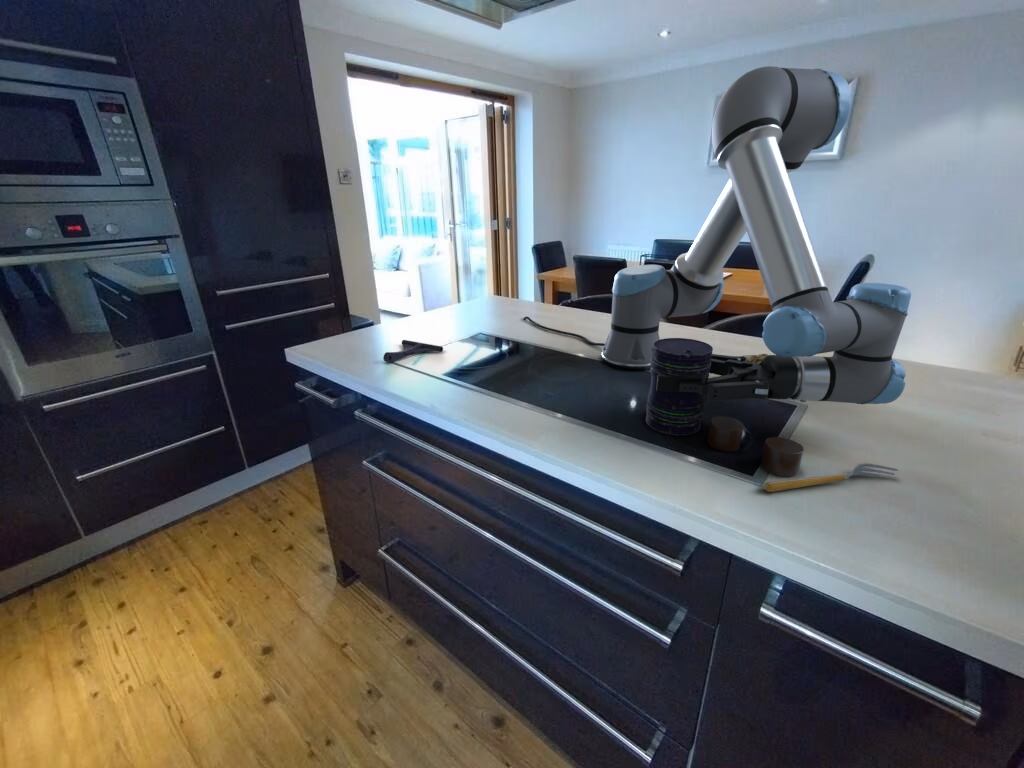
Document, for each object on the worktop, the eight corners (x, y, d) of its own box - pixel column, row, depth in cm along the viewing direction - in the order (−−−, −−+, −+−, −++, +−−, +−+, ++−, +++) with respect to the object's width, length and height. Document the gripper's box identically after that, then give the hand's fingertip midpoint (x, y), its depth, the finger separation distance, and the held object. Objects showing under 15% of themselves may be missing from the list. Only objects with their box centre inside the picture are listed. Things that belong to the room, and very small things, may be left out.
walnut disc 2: (754, 466, 68) (759, 443, 67) (770, 455, 71) (775, 433, 69) (788, 481, 64) (794, 457, 63) (803, 469, 67) (809, 446, 65)
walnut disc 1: (701, 442, 75) (704, 421, 73) (717, 433, 78) (721, 413, 76) (729, 455, 71) (733, 433, 70) (745, 445, 74) (749, 424, 72)
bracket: (366, 359, 119) (365, 349, 118) (405, 344, 130) (404, 335, 129) (406, 368, 112) (404, 358, 111) (443, 351, 123) (442, 342, 122)
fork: (772, 487, 60) (899, 468, 63) (764, 477, 62) (888, 459, 64) (766, 499, 62) (890, 480, 64) (758, 489, 63) (880, 470, 66)
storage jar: (639, 410, 86) (646, 338, 81) (690, 410, 86) (700, 337, 80) (652, 436, 77) (662, 355, 72) (709, 435, 77) (723, 355, 71)
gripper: (813, 428, 66) (659, 418, 70) (763, 374, 86) (646, 369, 90) (826, 382, 63) (664, 375, 67) (771, 337, 83) (649, 333, 87)
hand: (653, 371), depth 79 cm, fingers closed on storage jar, 10 cm apart
